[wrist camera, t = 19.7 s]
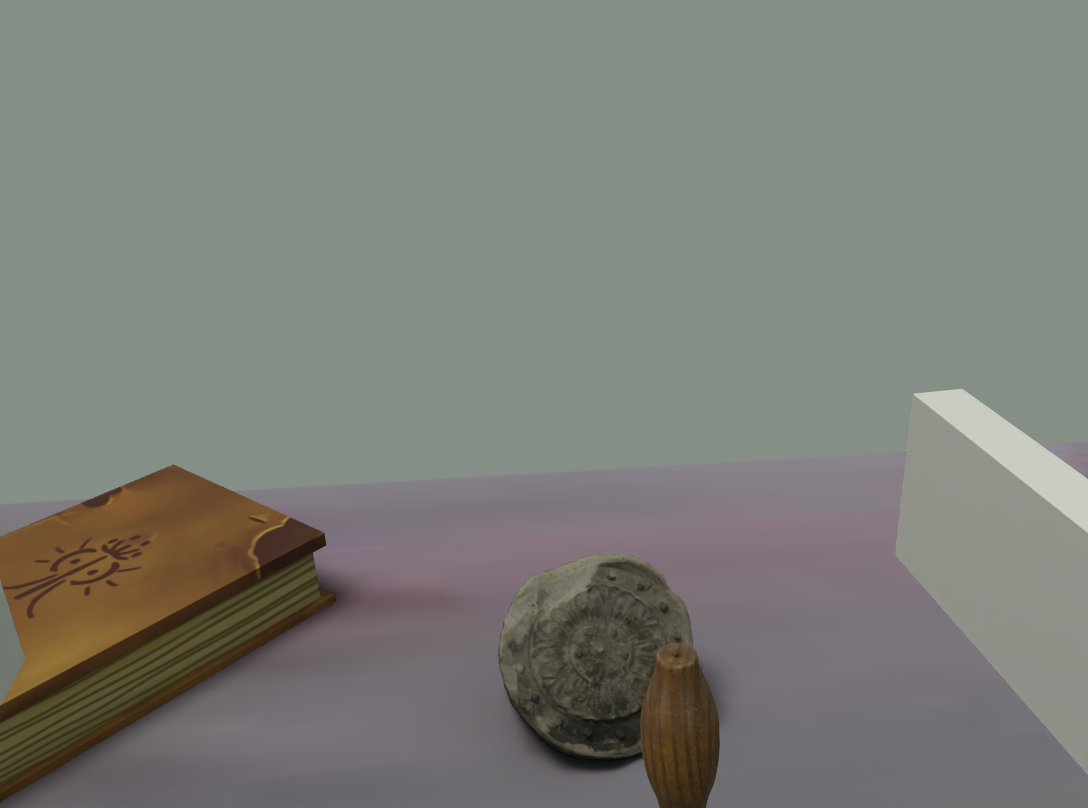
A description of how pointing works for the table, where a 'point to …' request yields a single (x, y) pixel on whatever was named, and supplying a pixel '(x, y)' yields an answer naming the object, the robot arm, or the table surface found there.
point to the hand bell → (679, 730)
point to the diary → (140, 608)
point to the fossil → (589, 651)
